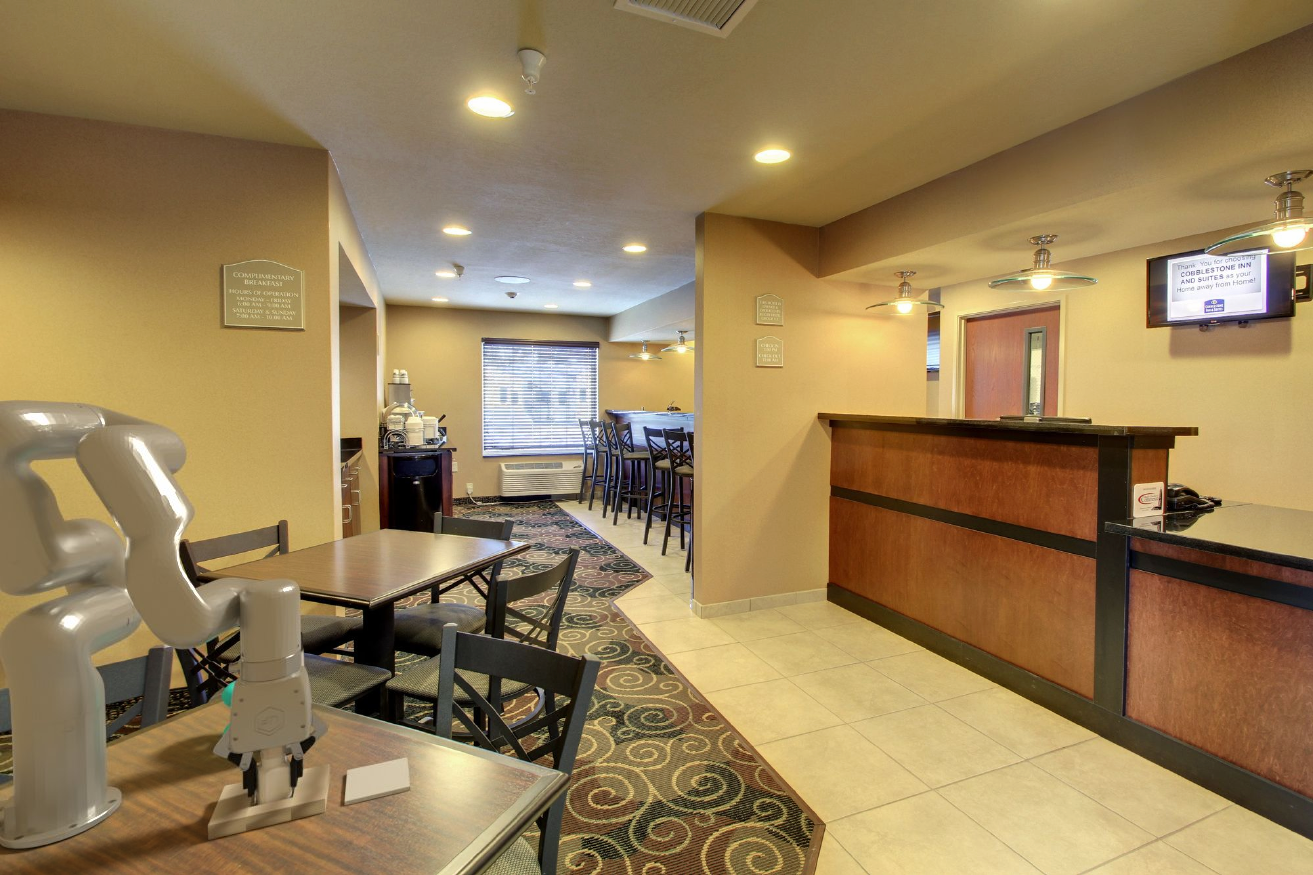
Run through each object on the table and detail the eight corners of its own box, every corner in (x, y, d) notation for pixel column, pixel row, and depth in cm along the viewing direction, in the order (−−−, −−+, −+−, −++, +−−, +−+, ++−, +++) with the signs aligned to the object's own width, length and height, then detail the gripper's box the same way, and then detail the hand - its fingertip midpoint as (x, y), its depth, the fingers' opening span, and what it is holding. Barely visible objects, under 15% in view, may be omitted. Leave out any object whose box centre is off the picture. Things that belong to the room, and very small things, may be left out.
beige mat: (344, 805, 90) (344, 801, 90) (347, 773, 98) (347, 770, 98) (410, 789, 94) (410, 786, 94) (407, 760, 102) (407, 757, 102)
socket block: (208, 839, 82) (207, 825, 82) (225, 798, 91) (224, 785, 91) (325, 812, 88) (324, 798, 88) (330, 775, 97) (329, 763, 97)
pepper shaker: (261, 817, 87) (260, 752, 87) (255, 805, 90) (254, 741, 90) (293, 805, 90) (291, 742, 90) (286, 793, 93) (285, 732, 92)
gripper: (194, 685, 82) (197, 817, 83) (335, 664, 90) (337, 786, 90) (208, 665, 89) (210, 788, 90) (338, 647, 96) (339, 761, 97)
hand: (273, 785), depth 90 cm, fingers closed on pepper shaker, 4 cm apart
